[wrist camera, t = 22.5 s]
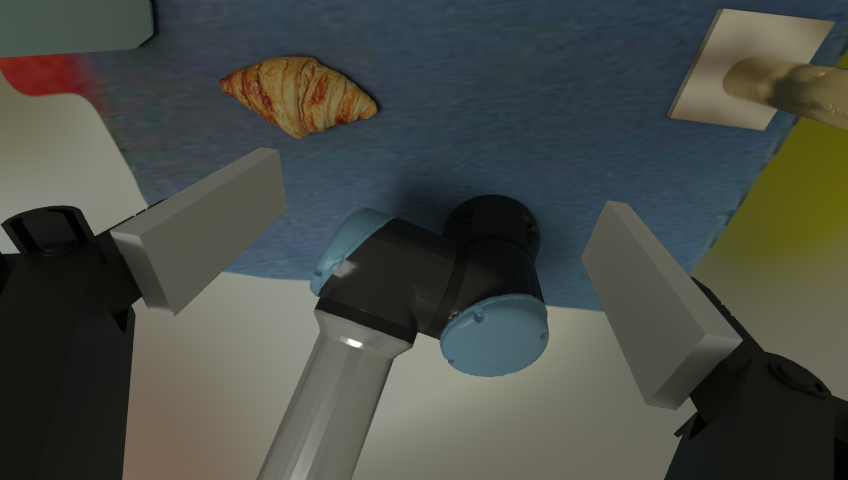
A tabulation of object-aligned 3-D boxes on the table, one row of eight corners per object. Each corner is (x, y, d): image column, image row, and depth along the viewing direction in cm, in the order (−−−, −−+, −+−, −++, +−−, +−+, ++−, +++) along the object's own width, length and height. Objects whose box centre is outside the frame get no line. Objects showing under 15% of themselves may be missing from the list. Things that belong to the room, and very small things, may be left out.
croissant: (386, 80, 47) (375, 53, 39) (377, 152, 48) (364, 140, 40) (241, 60, 48) (201, 30, 40) (235, 131, 49) (195, 116, 41)
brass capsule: (744, 101, 38) (880, 141, 25) (713, 89, 38) (833, 123, 25) (775, 64, 36) (941, 87, 23) (742, 51, 36) (890, 66, 23)
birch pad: (757, 128, 41) (763, 130, 40) (666, 116, 41) (669, 117, 40) (827, 21, 35) (835, 21, 34) (718, 9, 35) (724, 8, 34)
